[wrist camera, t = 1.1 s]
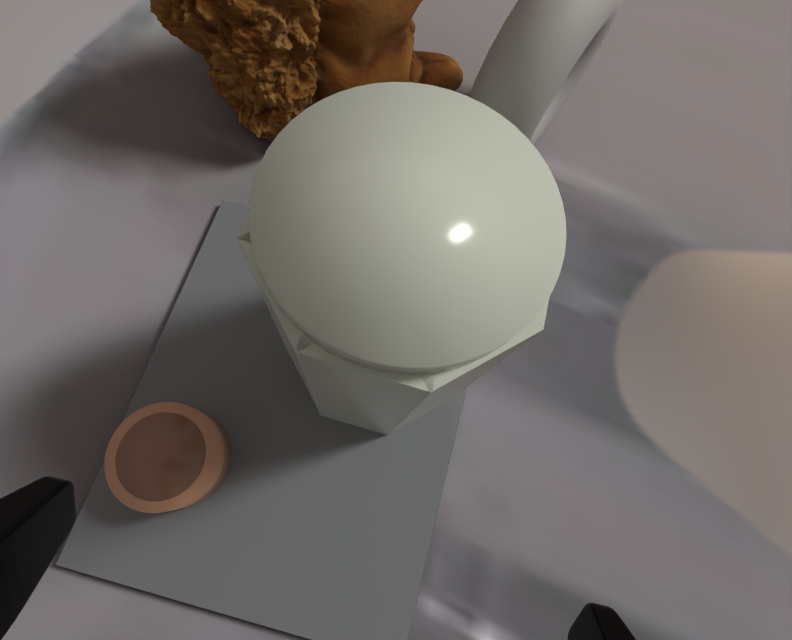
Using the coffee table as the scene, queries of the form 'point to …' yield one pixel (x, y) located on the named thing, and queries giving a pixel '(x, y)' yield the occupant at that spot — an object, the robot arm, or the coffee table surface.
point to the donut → (541, 59)
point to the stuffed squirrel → (301, 51)
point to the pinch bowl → (166, 458)
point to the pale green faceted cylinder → (402, 247)
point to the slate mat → (272, 479)
